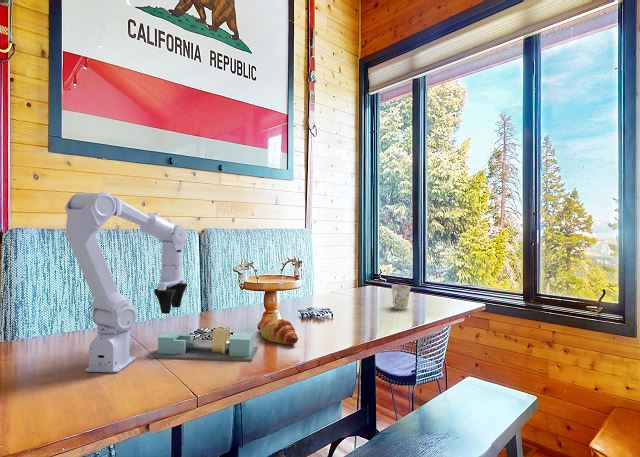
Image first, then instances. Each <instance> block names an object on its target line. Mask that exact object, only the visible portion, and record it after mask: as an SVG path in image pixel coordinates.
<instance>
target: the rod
mask: <svg viewBox="0 0 640 457" xmlns="http://www.w3.org/2000/svg"><path fill="white" fill-rule="evenodd" d="M230 331H231V330H230V327H226V328H222V327H221V328H220V327H218V328H217V327H215V328H214V329H213V330H212V340H211V339H210V340H209V339H207V340H206V339H192V340H186V350H201V351H212V352H217V353H222V354H225V353H226V352H227V351H229V346H230Z"/></svg>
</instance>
